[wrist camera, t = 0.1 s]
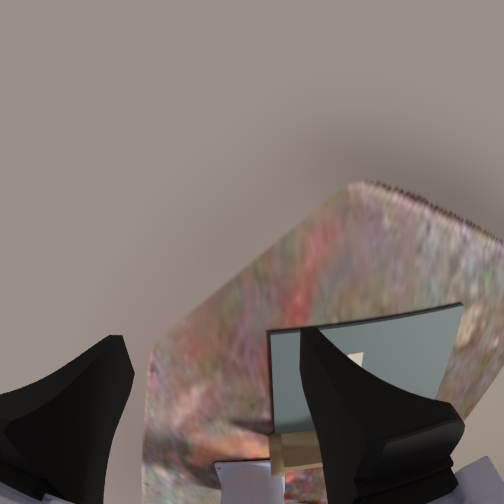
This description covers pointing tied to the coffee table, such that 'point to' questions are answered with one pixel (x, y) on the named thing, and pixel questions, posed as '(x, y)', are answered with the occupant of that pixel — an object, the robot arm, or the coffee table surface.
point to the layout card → (369, 358)
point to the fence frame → (293, 452)
